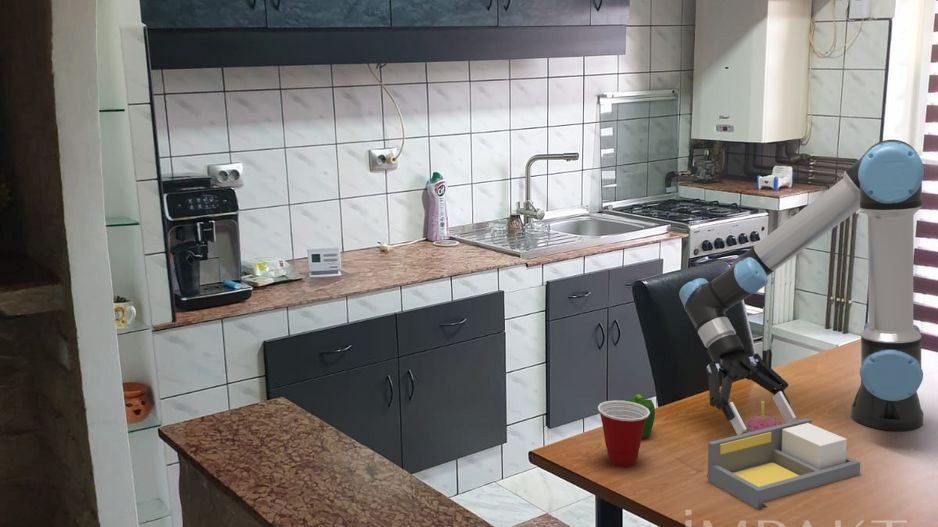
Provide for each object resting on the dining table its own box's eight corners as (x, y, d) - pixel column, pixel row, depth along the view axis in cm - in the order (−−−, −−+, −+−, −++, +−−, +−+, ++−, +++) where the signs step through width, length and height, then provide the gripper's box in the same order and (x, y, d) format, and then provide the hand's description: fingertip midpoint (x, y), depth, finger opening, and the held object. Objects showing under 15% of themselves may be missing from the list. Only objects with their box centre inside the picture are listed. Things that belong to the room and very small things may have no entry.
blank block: (806, 454, 185) (808, 422, 184) (845, 472, 176) (846, 439, 175) (781, 461, 182) (782, 429, 181) (818, 479, 173) (820, 446, 172)
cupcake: (779, 459, 186) (781, 404, 184) (738, 451, 191) (739, 398, 188) (788, 444, 193) (790, 392, 191) (749, 438, 198) (750, 386, 195)
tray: (805, 454, 188) (807, 418, 186) (859, 479, 175) (861, 440, 174) (707, 481, 177) (708, 442, 176) (757, 509, 165) (758, 468, 163)
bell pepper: (618, 427, 207) (618, 386, 205) (654, 428, 205) (655, 387, 203) (617, 440, 199) (617, 398, 197) (654, 442, 197) (654, 399, 195)
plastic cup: (649, 473, 181) (650, 418, 179) (596, 470, 184) (596, 416, 181) (650, 452, 192) (650, 399, 190) (599, 450, 194) (599, 397, 192)
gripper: (756, 342, 208) (801, 423, 198) (669, 358, 198) (712, 444, 188) (773, 325, 202) (820, 408, 192) (684, 341, 192) (729, 429, 182)
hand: (767, 426), depth 190 cm, fingers open, 13 cm apart
